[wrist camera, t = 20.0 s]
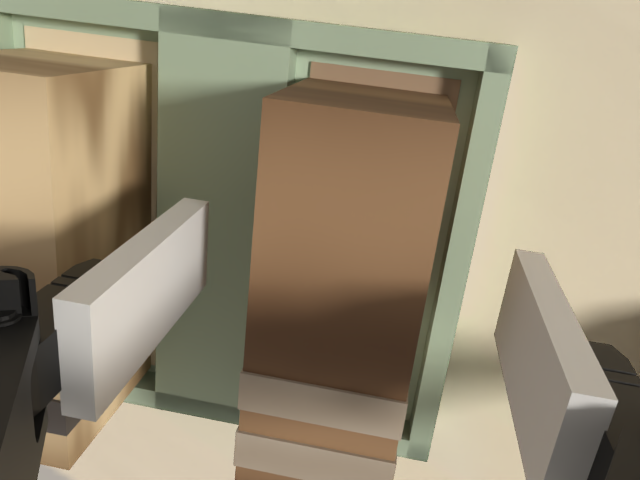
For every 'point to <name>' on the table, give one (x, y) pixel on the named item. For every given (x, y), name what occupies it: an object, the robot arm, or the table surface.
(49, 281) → the oak bar
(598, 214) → the table surface
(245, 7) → the table surface
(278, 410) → the walnut bar
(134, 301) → the robot arm
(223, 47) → the pale green flat frame
